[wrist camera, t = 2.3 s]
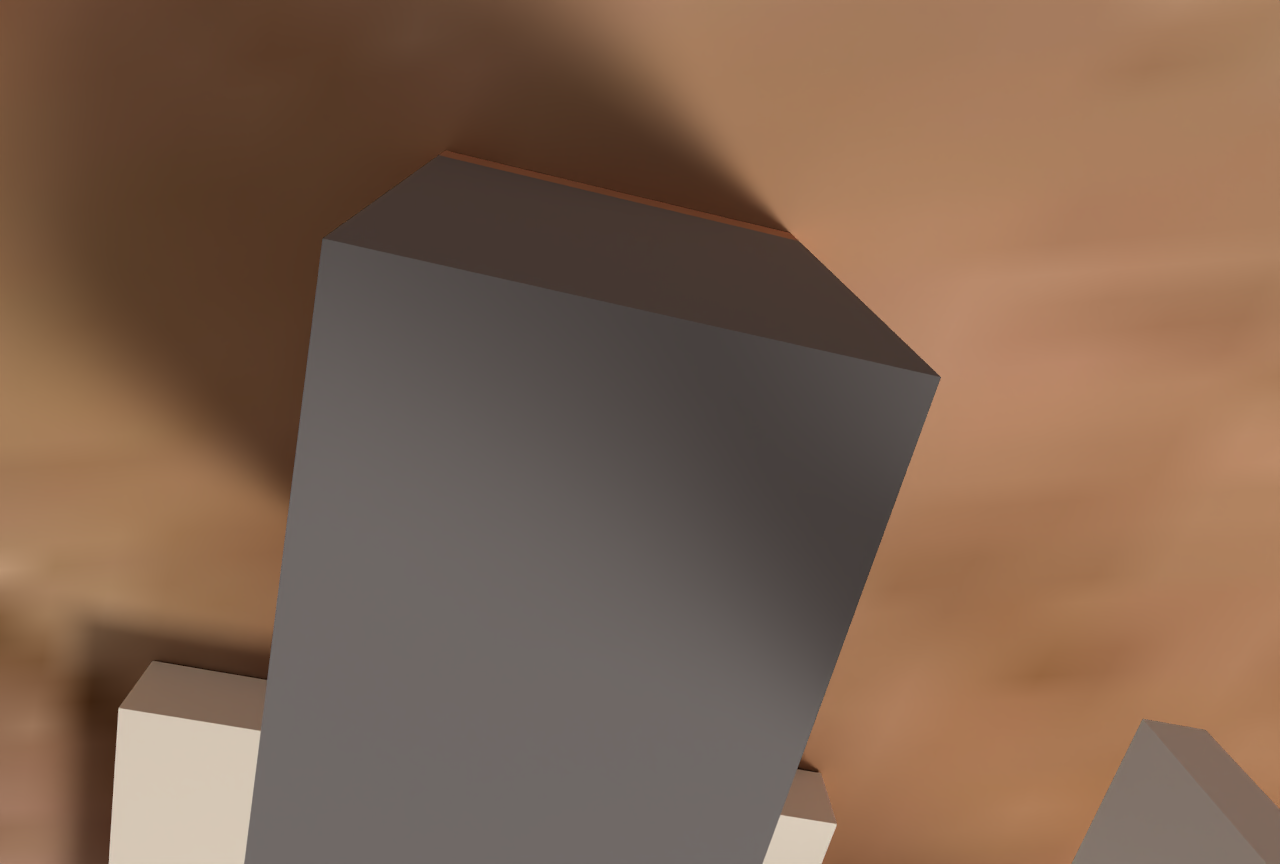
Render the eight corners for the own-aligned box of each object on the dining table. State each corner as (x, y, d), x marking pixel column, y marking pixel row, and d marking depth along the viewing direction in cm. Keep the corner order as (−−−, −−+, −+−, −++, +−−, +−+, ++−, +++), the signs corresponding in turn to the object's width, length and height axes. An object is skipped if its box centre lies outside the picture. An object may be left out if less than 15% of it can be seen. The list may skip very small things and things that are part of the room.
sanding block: (446, 150, 16) (321, 238, 9) (789, 232, 17) (941, 378, 10) (377, 564, 19) (240, 897, 12) (676, 620, 20) (725, 964, 12)
